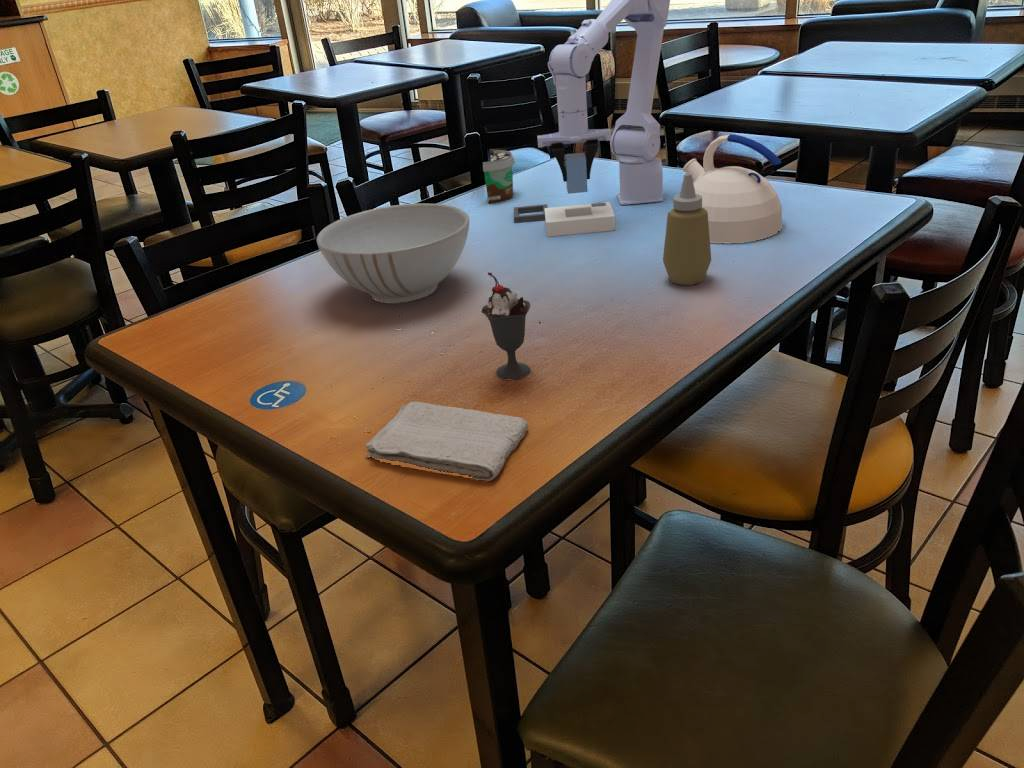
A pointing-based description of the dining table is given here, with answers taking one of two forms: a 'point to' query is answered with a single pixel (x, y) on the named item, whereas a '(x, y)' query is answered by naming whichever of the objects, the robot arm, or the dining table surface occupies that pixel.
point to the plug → (576, 173)
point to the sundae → (508, 327)
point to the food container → (499, 176)
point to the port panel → (579, 219)
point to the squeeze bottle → (687, 237)
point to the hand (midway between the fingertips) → (576, 179)
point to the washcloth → (449, 439)
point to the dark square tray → (526, 210)
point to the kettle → (736, 196)
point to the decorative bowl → (396, 249)
